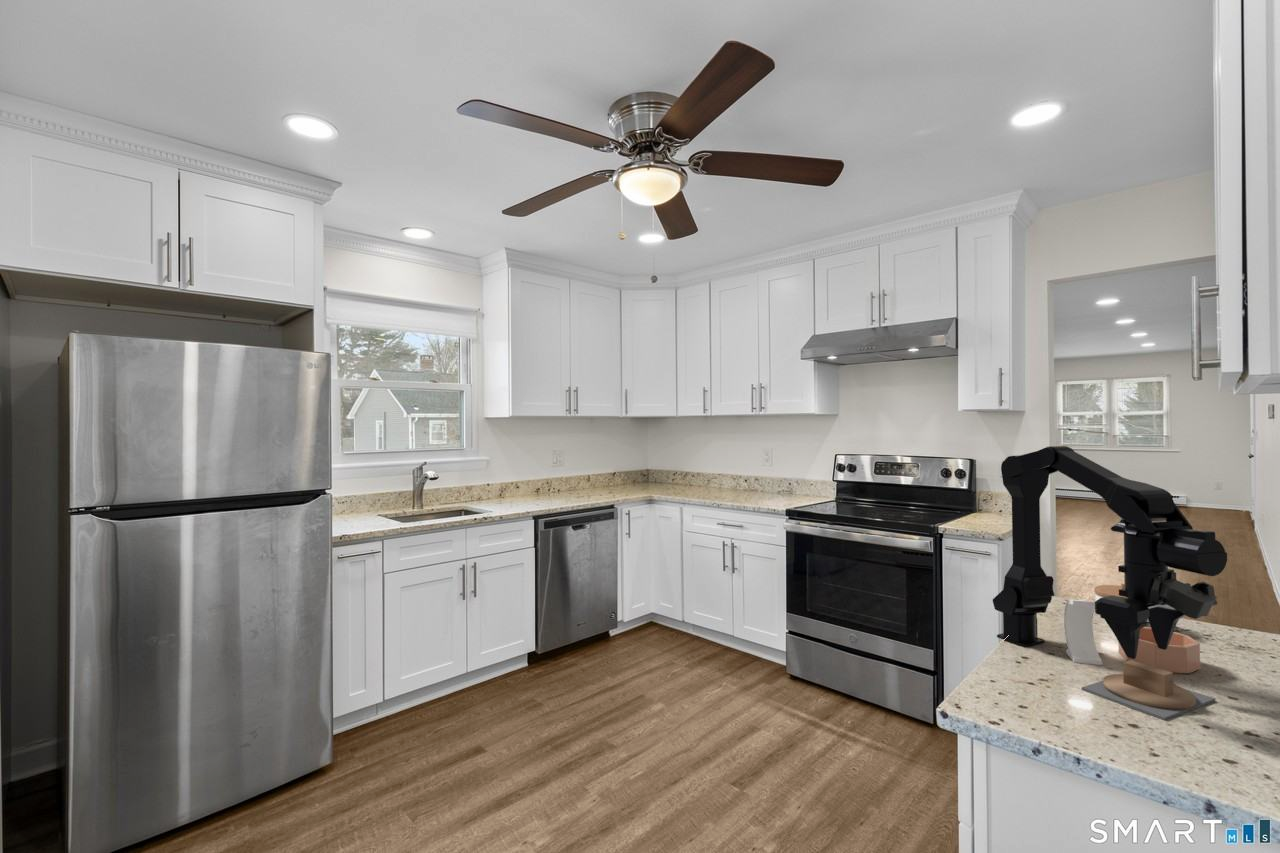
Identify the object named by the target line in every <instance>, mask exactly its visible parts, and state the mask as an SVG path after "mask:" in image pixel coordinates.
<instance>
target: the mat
mask: <svg viewBox="0 0 1280 853" xmlns="http://www.w3.org/2000/svg"><path fill="white" fill-rule="evenodd" d="M1185 689H1186V690H1188V691H1189V692H1191V693H1192V694H1193V695H1194V696H1195V697H1196V705H1195V707H1193V708H1191V709H1185V710H1170V709H1161V708H1155V707H1150V706H1145V705H1141V704H1138V703H1134V702H1131V701H1128V700H1125V699H1123V698H1120V697H1118V696H1116V695H1114V694H1112V693H1111V692H1109V691H1108V690H1107V689H1106V688H1105V687H1104V685H1103V680H1101V681H1097V682H1094V683H1091V684H1088V685H1085V686H1081V690H1082V691H1085V692H1087V693H1090V694H1092V695H1095V696H1099V697H1101V698H1104V699H1106V700H1109V701H1111V702H1114V703H1117V704H1120V705H1123V706H1125V707H1128V708H1131V709H1133V710H1136V711H1139V712H1141V713H1144V714H1146V715H1149V716H1152V717H1154V718H1157V719H1160V720H1162V721H1167V720H1169V719H1171V718H1174V717H1177V716H1179V715H1183V714H1185V713H1187V712H1189V711H1192V710H1195V709H1198V708H1201V707H1204V706H1206V705H1208V704H1211V703H1214V702H1216V698H1215V697H1212V696H1209V695H1205V694H1202V693H1199V692H1196V691H1193V690H1190V689H1187V688H1185Z"/></svg>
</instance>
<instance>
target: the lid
mask: <svg viewBox="0 0 1280 853" xmlns="http://www.w3.org/2000/svg"><path fill="white" fill-rule="evenodd" d="M1122 665H1123V667H1122V671H1123V672H1122V673H1112V674H1107V675H1105V676H1104V677H1103V678H1102V679H1103V680H1102V681H1103V685H1104V687H1105V688H1106V689H1107V690H1108V691H1109V692H1111V693H1112V694H1114V695H1116V696H1118V697H1120V698H1123V699H1125V700H1128V701H1131V702H1134V703H1138V704H1141V705H1145V706H1150V707H1155V708H1161V709H1170V710H1185V709H1191V708H1193V707H1195V705H1196V697H1195V696H1194V695H1193V694H1192V693H1191V692H1189V691H1188V690H1189V689H1187V688H1184V687H1183V686H1179V685H1178V684H1174V673H1172V672H1169V671H1166V670H1162V669H1159V668H1156V667H1152V666H1149V665H1146V664H1143V663H1139V662H1136V661H1133V660H1130V661H1127V660H1126V661H1124V662H1123V661H1122ZM1186 689H1187V690H1186Z"/></svg>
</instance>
